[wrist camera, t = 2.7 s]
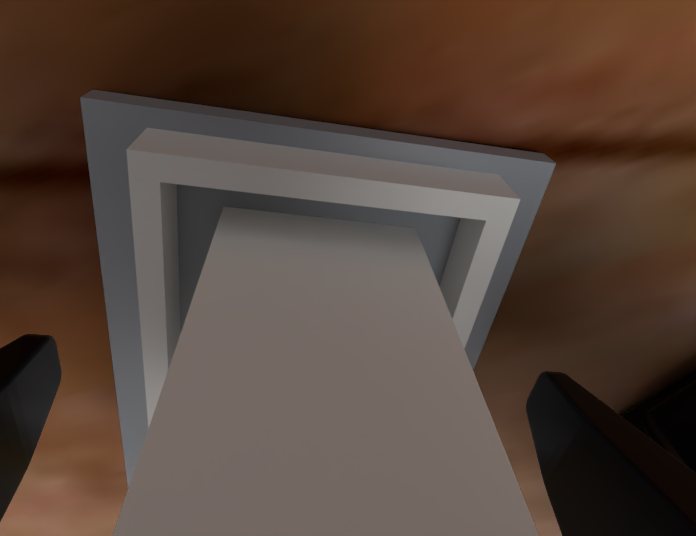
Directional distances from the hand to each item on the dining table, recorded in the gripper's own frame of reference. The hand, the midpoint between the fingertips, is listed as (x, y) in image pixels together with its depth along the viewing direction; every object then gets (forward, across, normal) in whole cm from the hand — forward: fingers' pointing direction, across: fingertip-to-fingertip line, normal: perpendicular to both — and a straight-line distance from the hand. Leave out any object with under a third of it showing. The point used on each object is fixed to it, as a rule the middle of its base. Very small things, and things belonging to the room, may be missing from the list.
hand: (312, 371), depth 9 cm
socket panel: (+3, 0, +5) cm, 6 cm away
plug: (+2, 0, 0) cm, 2 cm away
